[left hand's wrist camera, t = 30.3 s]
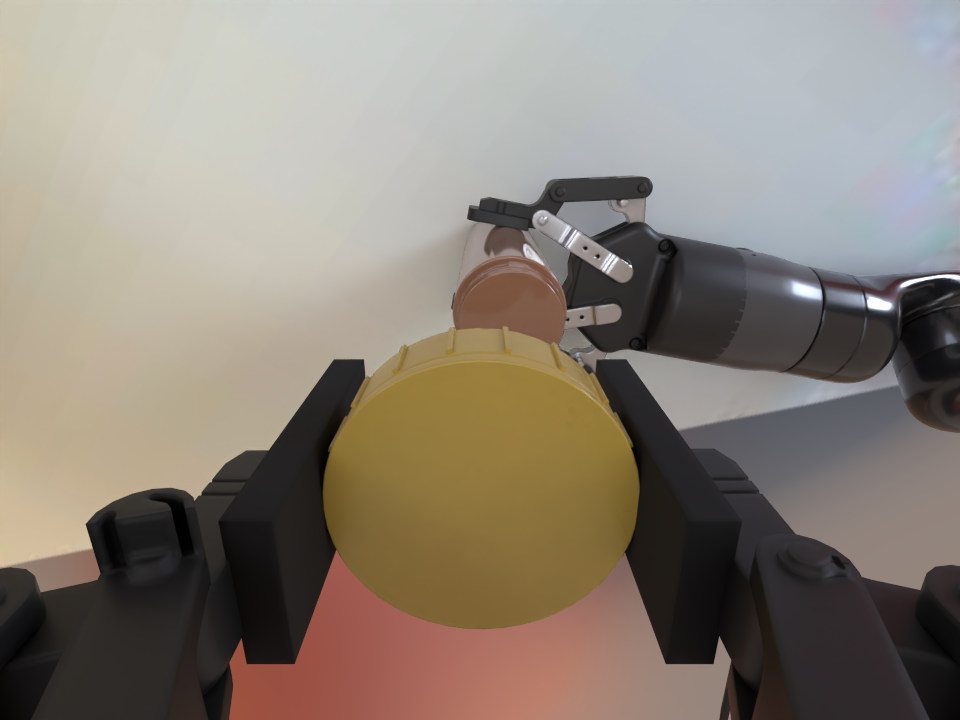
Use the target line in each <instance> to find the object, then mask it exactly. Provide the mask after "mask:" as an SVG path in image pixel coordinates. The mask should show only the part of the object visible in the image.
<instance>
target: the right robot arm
mask: <svg viewBox="0 0 960 720" xmlns="http://www.w3.org/2000/svg"><path fill="white" fill-rule="evenodd" d="M652 189H653V185H652V182H651V180H650V179H648V178H646V177H640V176H615V177H593V178H572V179H553V180H551V181H549V182H548V183H547V185H546V188H545V190H544V192H543V193H542V195H541V197H540V198H539V200H538V201H537V202H535V203H534V204H530V205H526V204H521V203H516V202H511V201H506V200H501V199H496V198H490V197H488V198H483V199H481V200H480V205H479V207H478V206H472V205H470V206H469V210H468V216H467V219H469V220H472V221H477V222H482V223H487V224H493V225H498V226H503V227H509V228H514V229H518V230H524V231H528V228H533V229H537V230H538V231H540V232H542V233H543V234H545V235H546V236H548V237H549V238H551V239H553V240H554V241H556V242H557V243H559V244H560V245H562V246H563V247H565V248H566V249H568V250H569V251H571V252H570V256H569V260H568V277H567V278H566V280H565V282H564V284H563V286H562V289H563V291H564V294H565V298H566V305H567V315H566V318H568V319H566V321H565V328H564V329H570V328H576V327H577V328H578V329H579V330H580V331H581V332H582V334H583V335H584V336H585V337H586V338H587V339H588V340H589V341H590V342H591V343H592V345H591V346H590V347H588V348H585V349H582V348H573V349H572V350H570V352H569V353H568V352H566V351H564V350H561V349H560V351H562V352H564V353H565V354H567V355H568V356H570V357H571V358H572V359H573V360H574V361H576V362H577V363H578V364H579V365H580V366H582V367H583V368H584V369H585V371H586V372H587V373H588V374H591V373H592V372H593V373H594V375H595V371H596V359H604V358H605V356H606V354H607V353H612V352H616V351H619V350H624V349H631V350H636V351H640V352H646V353H651V354H657V355H663V356H668V357H674V358H679V359H685V360H690V361H696V362H701V363H707V364H712V365H717V366H723V367H729V368H735V369H741V370H758V371H772V372H778V373H783V374H789V375H794V376H800V377H805V378H811V379H817V380H822V381H828V382H835V383H855V382H860V381H864V380H867V379H869V378H871V377H872V376H874V375H876V374H877V373H879V372H880V371H881V370H882V369H883V368H884V367H885V366H886V365H887V364H888V363H889V361H890V360H891V361H892V364H893V367H894V370H895V373H896V377H897V380H898V383H899V387H900V390H901V393H902V396H903V399H904V402H905V404H906V406H907V408H908V409H909V411H910V413H911V414H912V415H913V416H914V417H915V418H916V419H917V420H919V421H920V422H922V423H923V424H925V425H927V426H929V427H932V428H936V429H939V430H942V431H948V432H955V433H960V271H956V270H952V271H935V272H924V273H912V274H893V275H882V276H868V277H856V276H852V275H847V274H842V273H837V272H832V271H827V270H822V269H817V268H812V267H806V266H803V265H799V264H795V263H792V262H789V261H787V260H784V259H781V258H778V257H775V256H771V255H767V254H762V253H757V252H753V251H751V250H749V249H745V248H731V247H726V246H721V245H716V244H710V243H705V242H700V241H695V240H690V239H685V238H680V237H675V236H670V235H665V234H660V233H657V232H656V231H654V230H653V229H652V228H651V227H650V226H649V225H647V224H646V223H644V220H645V203H646V197H648V196H649V195H650V194H651V192H652ZM601 200H608V205H609V207H610V208H611V209H612V210H614V211H616V212H621V213H623V214H624V216H625V218H626V221H625V222H623V223H621V224H619V225H617V226H615V227H612V228H610V229H608V230H606V231H604V232H602V233H600V234H597V235H595V236H593V237H591V238H590V237H588V236H587V235H585V234H583V233H582V232H580V231H579V230H577V229H576V228H574V227H573V226H571V225H569V224H568V223H566V222H565V221H563V220H561V219H560V218H558V217H557V216H556V214H557V213H558V211H559V209H560V208H561V206H562V204H563V203H564V202H579V201H601ZM454 298H455V293H454V295H453V301H452V306H451V309H452V310H453V303H454Z"/></svg>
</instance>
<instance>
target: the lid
mask: <svg viewBox="0 0 960 720" xmlns="http://www.w3.org/2000/svg"><path fill="white" fill-rule="evenodd" d="M608 403H609V401H608V399H607V397H606V395H605V393H604V391H603V389H602V387H601V385H600V384H599V382H598V380H597V378H596V376H595V375H594V373H593V372H592V373H591V374H588V373H587V372H586V371H585V369H584V368H583V367H582V366H580V365H579V364H578V363H577V362H576V361H574V360H573V359H572V358H571V357H570V356H568V355H567V354H565V353H564V352H562V351H560V349H559V347H558V345H557V344H556V343H554V342H553V343H552V344H551V345H550V344H548V343H546V342H544V341H541V340H539V339H537V338H534V337H531V336H528V335H525V334H521V333H518V332H513V331H509V329H508V327H506V326H503V328H502V330H501V329H488V328H473V329H461V330H455V327H451V328H450V329H449V332H445V333H441V334H438V335H435V336H432V337H429V338H426V339H423V340H421V341H419V342H417V343H415V344H413V345H411V346H409V347H407V346H406V344H405V345H403V346H401V348H400V351H399V353H398V354H396V355H395V356H393V357H392V358H390V359H389V360H388V361H387V362H386V363H385V364H384V365H382V366H381V367H380V368H379V369H378V370H377V371H376V372H375V373H374V374H373V376H372V377H371V378H370V377H369V376H367V377H366V378H365V379H364V381H363V383H362V385H361V387H360V389H359V391H358V392H357V394H356V396H355V398H354V400H353V402H352V404H351V406H350V407H352V409H351V410H350V412H349V414H348V416H345V417H344V419H343V421H342V423H341V425H340V427H339V429H338V431H337V433H336V435H335V437H334V439H333V441H332V442H331V444H330V446H329V449H328V452H330V454H329V456H328V460H327V464H326V468H325V472H324V479H323V489H322V496H323V510H324V515H325V519H326V524H327V528H328V531H329V533H330V536H331V539H332V541H333V544H334V546H335V548H336V549H337V551H338V553H339V555H340V557H341V558H342V560H343V561H344V563H345V564H346V565H347V567H348V568H349V569H350V571H351V572H352V573H353V574H354V575H355V576H356V577H357V578H358V580H359V581H360V582H361V583H362V584H363V585H364V586H365V587H367V588H368V589H369V590H370V591H371V592H373V593H374V594H375V595H376V596H378V597H379V598H381V599H382V600H384V601H385V602H387V603H388V604H390V605H392V606H393V607H395V608H397V609H399V610H401V611H403V612H405V613H407V614H409V615H412V616H415V617H417V618H420V619H423V620H426V621H428V622H433V623H437V624H441V625H445V626H451V627H458V628H467V629H494V628H505V627H511V626H518V625H522V624H526V623H530V622H534V621H537V620H540V619H543V618H545V617H548V616H550V615H553V614H556V613H558V612H560V611H562V610H564V609H565V608H567V607H569V606H571V605H573V604H574V603H576V602H578V601H579V600H580V599H582V598H583V597H585V596H586V595H588V594H589V593H590V592H591V591H592V590H594V589H595V588H596V587H597V586H598V585H600V584H601V583H602V582H603V580H604V579H605V578H606V577H607V576H608V575H609V574H610V573H611V572H612V571H613V569H614V568H615V566H616V565H617V564H618V562H619V561H620V559H621V558H622V556H623V555H624V553H625V551H626V549H627V547H628V545H629V543H630V541H631V539H632V536H633V533H634V530H635V524H636V517H637V508H638V500H639V491H640V480H639V473H638V468H637V464H636V461H635V458H634V454H633V451H632V449H631V448H632V447H634V446H633V443H632V441H631V439H630V437H629V435H628V434H627V432H626V430H625V428H624V426H623V424H622V422H621V420H620V418H619V417H618V415H617V413H616V412H614V413H613V411H612V409H611V407H610V406H609V404H608Z"/></svg>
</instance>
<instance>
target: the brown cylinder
mask: <svg viewBox="0 0 960 720" xmlns="http://www.w3.org/2000/svg"><path fill="white" fill-rule="evenodd" d="M566 315H567V305H566V298H565V294H564V291H563V289H562V287H561V285H560V283H559V281H558V279H557V278H556V276H555V274H554V273H553V271H552V269H551V268H550V266H549V264H548V263H547V261H546V259H545V258H544V256H543V254H542V253H541V251H540V249H539V248H538V246H537V244H536V243H535V241H534V239H533V238H532V236H531V234H530V233H529V231H524V230H518V229H514V228H509V227H503V226H498V225H493V224H487V223H482V222H478V223H477V224H476V225H475V226H474V227H473V228H472V230H471V231H470V233H469V235H468V238H467V241H466V246H465V251H464V255H463V260H462V265H461V269H460V274H459V279H458V283H457V288H456V293H455V298H454V303H453V320H454V325H455V328H456V330H461V329H473V328H488V329H501V330H502V328H503V326H506V327H508V329H509V331H513V332H518V333H521V334H525V335H528V336H531V337H534V338H537V339H539V340H541V341H544V342H546V343H548V344H550V345H551V344H552V343H553V342H554V343H556V344H557V345H558V347H559V343H560V341H561V338H562V335H563V332H564V328H565V321H566Z"/></svg>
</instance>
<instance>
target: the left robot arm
mask: <svg viewBox="0 0 960 720" xmlns="http://www.w3.org/2000/svg"><path fill="white" fill-rule="evenodd" d="M595 376H596V378H597V380H598V382H599V384H600V385H601V387H602V389H603V391H604V393H605V395H606V397H607V399H608V401H609V403H608V404H609V406H610V407H611V409H612V411H613V413H614V412H616V413H617V415H618V417H619V418H620V420H621V422H622V424H623V426H624V428H625V430H626V432H627V434H628V435H629V437H630V439H631V441H632V443H633V446H634V447H632V448H631V449H632V451H633V454H634V458H635V461H636V464H637V468H638V473H639V480H640V491H639V500H638V508H637V517H636V524H635V530H634V533H633V536H632V539H631V541H630V543H629V545H628V547H627V549H626V551H625V553H626V556H627V559H628V562H629V564H630V567H631V570H632V573H633V575H634V578H635V581H636V584H637V586H638V589H639V592H640V595H641V597H642V600H643V603H644V605H645V608H646V611H647V614H648V616H649V619H650V622H651V625H652V627H653V630H654V633H655V636H656V638H657V641H658V644H659V647H660V649H661V652H662V655H663V658H664V660H665V663H666V664H714V659H715V654H716V649H717V644H718V639H719V636H720V638H721V640H722V642H723V644H724V646H725V648H726V650H727V652H728V654H729V656H730V658H731V665H730V669H729V674H728V678H727V683H726V688H725V692H724V697H723V702H722V706H721V712H720V719H719V720H728V716H729V712H730V713H731V720H960V566H955V565H947V566H938V567H934V568H933V569H932V570H930V571H929V572H928V573H927V574H926V577H925V579H924V582H923V585H922V588H921V590H917V589H912V588H908V587H903V586H898V585H893V584H889V583H884V582H879V581H875V580H871V579H867V578H863V577H861V575H860V573H859V571H858V570H857V569H856V568H855V566H854V565H853V564H852V562H851V561H850V560H849V559H848V558H846V557H845V556H844V555H842V554H841V553H840V552H838V551H837V550H836V549H834V548H832V547H830V546H828V545H826V544H824V543H822V542H819V541H817V540H815V539H811V538H808V537H804V536H800V535H797V534H795V533H794V532H793V530H792V529H791V528H790V527H789V526H788V524H787V523H786V522H785V521H784V520H783V518H782V517H781V516H780V515H779V514H778V512H777V511H776V510H775V509H774V508H773V506H772V505H771V504H770V503H769V502H768V500H767V499H766V498H765V497H764V496H763V494H759V490H758V488H757V487H756V486H755V485H754V484H753V483H752V481H749V480H748V476H747V475H746V474H745V473H744V472H743V471H742V469H741V468H740V467H739V466H738V464H737V463H736V462H735V461H733V460H731V459H730V458H728V457H727V456H725V455H723V454H722V453H720V452H719V451H717V450H715V449H690V448H689V446H688V445H687V443H686V442H685V441H684V439H683V438H682V436H681V435H680V434H679V432H678V431H677V429H676V428H675V427H674V425H673V424H672V423H671V421H670V420H669V418H668V417H667V416H666V414H665V413H664V411H663V410H662V409H661V407H660V406H659V404H658V403H657V402H656V400H655V399H654V397H653V396H652V395H651V393H650V392H649V390H648V389H647V388H646V386H645V385H644V384H643V382H642V381H641V379H640V378H639V377H638V375H637V374H636V372H635V371H634V370H633V368H632V367H631V365H630V364H629V363H628V361H627V360H626V359H596V371H595ZM364 379H365V367H364V359H334V360H333V362H332V363H331V365H330V366H329V367H328V369H327V370H326V372H325V373H324V374H323V376H322V377H321V378H320V380H319V381H318V383H317V384H316V385H315V387H314V388H313V390H312V391H311V392H310V394H309V395H308V397H307V398H306V399H305V401H304V402H303V404H302V405H301V406H300V408H299V409H298V411H297V412H296V413H295V415H294V416H293V417H292V419H291V420H290V422H289V423H288V424H287V426H286V427H285V429H284V430H283V431H282V433H281V434H280V436H279V437H278V438H277V440H276V441H275V443H274V444H273V445H272V447H271V448H270V450H269V451H245V452H243V453H242V454H240V455H238V456H237V457H235V458H234V459H232V460H231V461H229V462H227V463H226V464H225V465H224V466H223V467H222V468H221V470H220V471H219V472H218V473H217V474H216V476H215V477H214V478H213V479H212V483H209V484H208V485H207V487H206V488H205V489H204V490H203V491H202V495H201V496H198V497H197V499H196V500H195V501H194V498H193V497H192V496H191V495H190V494H189V493H187V492H186V491H184V490H179V489H174V488H161V489H151V490H146V491H142V492H138V493H134V494H131V495H128V496H126V497H123V498H121V499H119V500H116V501H114V502H112V503H110V504H109V505H107V506H106V507H104V508H102V509H101V510H99V511H98V512H96V513H95V514H94V516H93V517H92V518H91V519H90V520H89V521H88V522H87V523H86V527H87V530H88V533H89V537H90V540H91V543H92V547H93V550H94V553H95V557H96V560H97V563H98V566H99V570H100V573H101V574H100V576H99V578H98V580H95V581H92V582H88V583H83V584H78V585H74V586H69V587H64V588H60V589H55V590H50V591H46V592H40V589H39V586H38V584H37V581H36V578H35V576H34V575H33V574H32V573H30V572H29V571H28V570H26V569H20V568H11V567H10V568H3V569H0V720H229V714H230V706H231V699H232V691H233V682H232V674H231V669H230V665H229V662H230V660H231V658H232V656H233V654H234V652H235V650H236V648H237V646H238V644H239V642H240V640H241V638H242V642H243V647H244V652H245V657H246V662H247V664H295V661H296V658H297V656H298V653H299V650H300V648H301V645H302V642H303V639H304V637H305V634H306V631H307V628H308V626H309V623H310V620H311V617H312V615H313V612H314V609H315V606H316V604H317V601H318V598H319V595H320V593H321V590H322V587H323V585H324V582H325V579H326V576H327V574H328V571H329V568H330V565H331V563H332V560H333V557H334V554H335V552H336V548H335V546H334V544H333V541H332V539H331V536H330V533H329V531H328V528H327V524H326V519H325V515H324V510H323V496H322V489H323V479H324V472H325V468H326V464H327V460H328V456H329V454H330V452H328V449H329V446H330V444H331V442H332V441H333V439H334V437H335V435H336V433H337V431H338V429H339V427H340V425H341V423H342V421H343V419H344V417H345V416H348V414H349V412H350V410H351V409H352V407H350V406H351V404H352V402H353V400H354V398H355V396H356V394H357V392H358V391H359V389H360V387H361V385H362V383H363V381H364Z"/></svg>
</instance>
